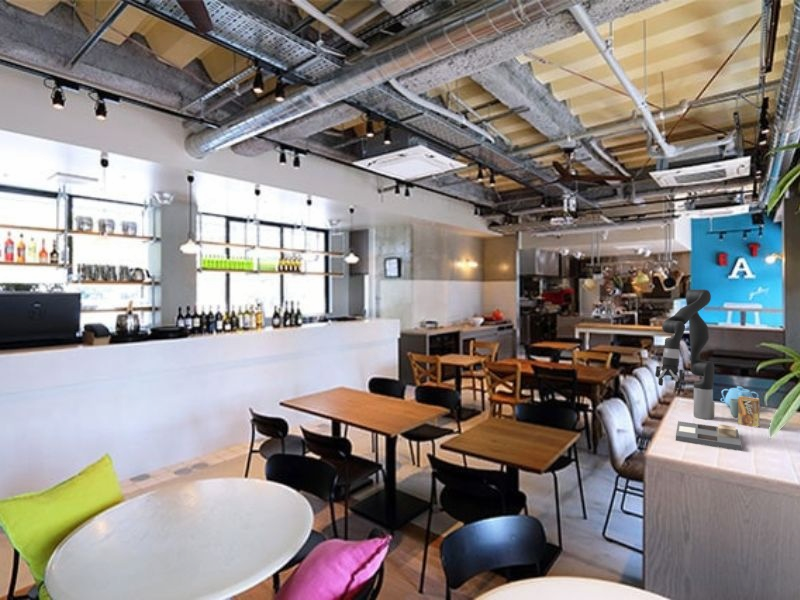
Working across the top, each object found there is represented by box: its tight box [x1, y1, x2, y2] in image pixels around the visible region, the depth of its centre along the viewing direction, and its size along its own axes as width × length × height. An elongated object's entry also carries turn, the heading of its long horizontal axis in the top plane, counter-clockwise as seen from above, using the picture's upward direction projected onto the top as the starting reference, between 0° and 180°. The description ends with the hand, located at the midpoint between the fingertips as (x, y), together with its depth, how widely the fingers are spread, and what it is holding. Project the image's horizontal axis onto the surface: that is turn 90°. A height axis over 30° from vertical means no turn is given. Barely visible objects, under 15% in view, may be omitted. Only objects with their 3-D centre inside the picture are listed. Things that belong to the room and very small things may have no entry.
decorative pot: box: [720, 385, 760, 408], centre depth 275 cm, size 16×16×14 cm
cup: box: [729, 399, 738, 419], centre depth 256 cm, size 8×8×10 cm
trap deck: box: [675, 420, 743, 451], centre depth 223 cm, size 26×28×2 cm
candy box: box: [737, 396, 761, 428], centre depth 241 cm, size 9×4×15 cm, turn 44°
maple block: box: [717, 423, 737, 438], centre depth 218 cm, size 7×7×4 cm
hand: (668, 386), depth 238 cm, fingers open, 8 cm apart
